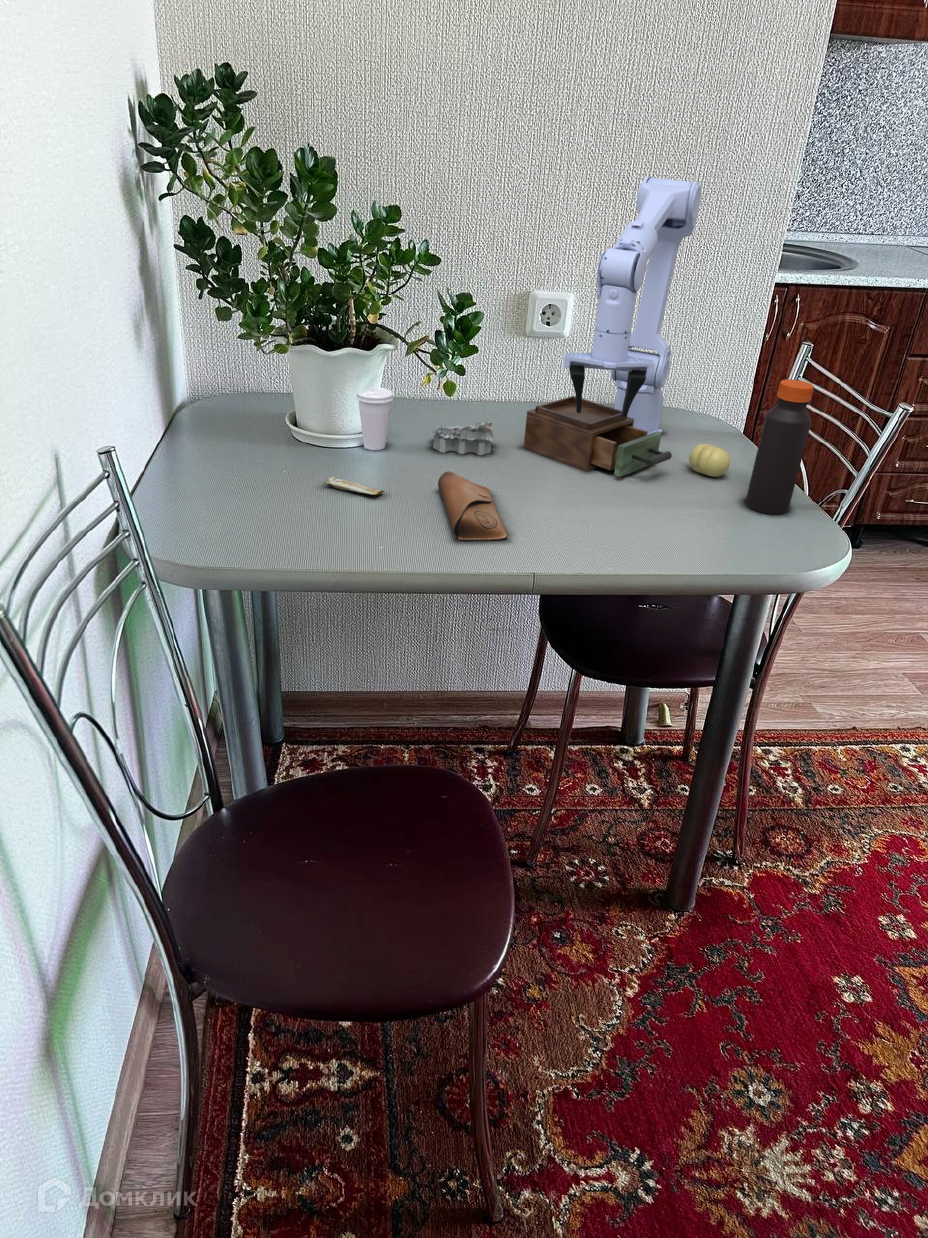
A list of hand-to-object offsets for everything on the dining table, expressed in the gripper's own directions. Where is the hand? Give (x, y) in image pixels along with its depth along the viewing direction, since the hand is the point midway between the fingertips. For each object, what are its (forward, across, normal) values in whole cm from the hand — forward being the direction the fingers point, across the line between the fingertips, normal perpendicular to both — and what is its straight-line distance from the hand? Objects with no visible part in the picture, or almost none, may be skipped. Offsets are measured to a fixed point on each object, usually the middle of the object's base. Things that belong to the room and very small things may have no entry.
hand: (601, 412), depth 151 cm
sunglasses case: (+10, -19, -24) cm, 33 cm away
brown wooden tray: (+3, -3, +8) cm, 9 cm away
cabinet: (+10, -3, +8) cm, 13 cm away
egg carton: (+10, -23, +5) cm, 26 cm away
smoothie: (+10, -38, +2) cm, 40 cm away
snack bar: (+10, -38, -19) cm, 44 cm away
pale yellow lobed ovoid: (+10, +20, +2) cm, 22 cm away
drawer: (+9, +4, +2) cm, 10 cm away
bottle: (+10, +28, -11) cm, 31 cm away
